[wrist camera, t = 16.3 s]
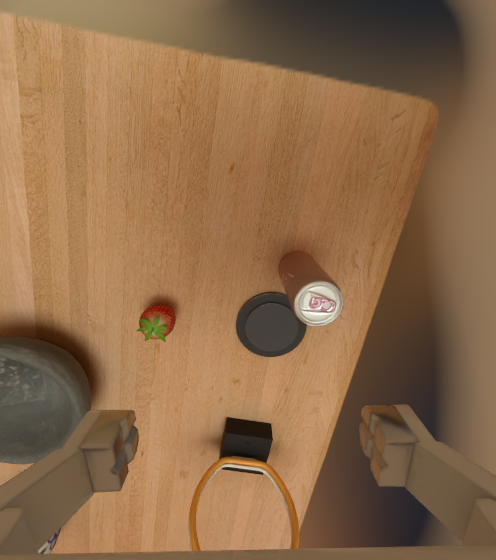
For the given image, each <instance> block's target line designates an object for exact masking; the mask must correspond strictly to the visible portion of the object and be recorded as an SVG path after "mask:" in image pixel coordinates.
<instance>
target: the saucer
mask: <svg viewBox="0 0 496 560" xmlns="http://www.w3.org/2000/svg"><path fill="white" fill-rule="evenodd" d="M306 326H307V324H305V323H303V322H302V321H301V320H300V319H299V318H298V317H297V316H296V315H295V314H294V312H293V310H292V307H291V305H290V302H289V299H288V297H287V295H285V294H282V293H277V292H267V293H262V294H259V295H257V296H254V297H253V298H251V299H250V300H248V301H247V302H246V303H245V304H244V305H243V307H242V308H241V310H240V312H239V314H238V317H237V322H236V329H237V334H238V337H239V339H240V341H241V343H242V344H243V345H244V346H245V347H246V348H247V349H248V350H250V351H251V352H253V353H255V354H257V355H260V356H265V357H276V356H281V355H284V354H286V353H288V352H290V351H292V350H293V349H294V348H296V347H297V346H298V345H299V343H300V342H301V341H302V339H303V337H304V335H305V332H306Z"/></svg>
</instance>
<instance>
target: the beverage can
mask: <svg viewBox="0 0 496 560" xmlns="http://www.w3.org/2000/svg"><path fill="white" fill-rule="evenodd" d="M279 275H280V278H281V280H282V283H283V286H284V289H285V291H286V294H287V297H288V299H289V302H290V305H291V307H292V310H293V312H294V314H295V315H296V316H297V317H298V318H299V319H300V320H301V321H302V322H303V323H305V324H307V325H310V326H323V325H326V324H329V323H331V322H332V321H333V320H335V319H336V318H337V317H338V315H339V314H340V312H341V310H342V307H343V297H342V294H341V291H340V289H339V287H338V285H337V284H336V283H335V282H334V281H333V280H332V279H331V278H330V276H329V275H328V274H327V273H326V272H325V271H324V270H323V269H322V268H321V267H320V265H319V264H318V263H317V262H316V261H315V260H314V259H313V258H312V257H311V256H310V255H309V254H307V253H305V252H301V251H296V252H292V253H289V254H288V255H286V256H285V257H284V258H283V259H282V261H281V263H280V265H279Z"/></svg>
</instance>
